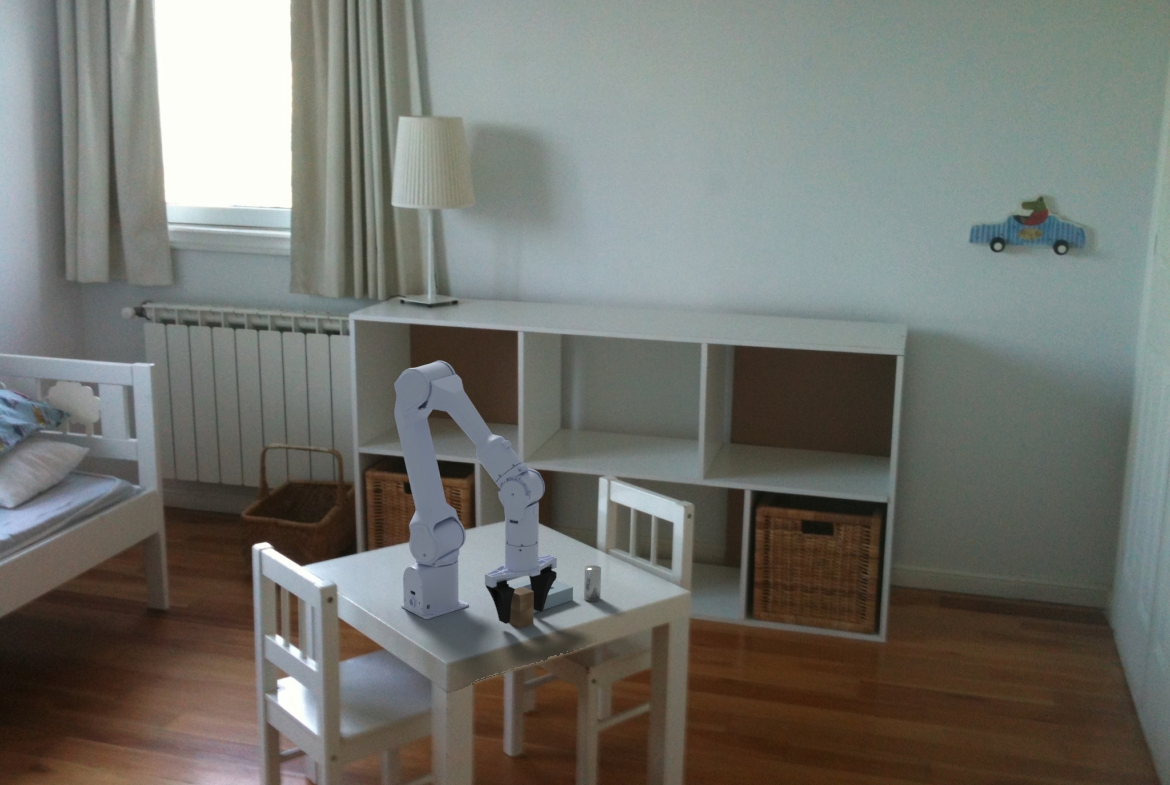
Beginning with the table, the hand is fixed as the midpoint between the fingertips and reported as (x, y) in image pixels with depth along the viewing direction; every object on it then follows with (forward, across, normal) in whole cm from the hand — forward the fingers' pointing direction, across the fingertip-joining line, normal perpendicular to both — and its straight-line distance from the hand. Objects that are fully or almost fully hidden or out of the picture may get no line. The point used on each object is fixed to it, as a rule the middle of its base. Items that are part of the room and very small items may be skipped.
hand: (521, 615), depth 197 cm
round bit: (+1, +17, 0) cm, 17 cm away
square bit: (+1, 0, 0) cm, 1 cm away
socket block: (+1, +9, +6) cm, 11 cm away
